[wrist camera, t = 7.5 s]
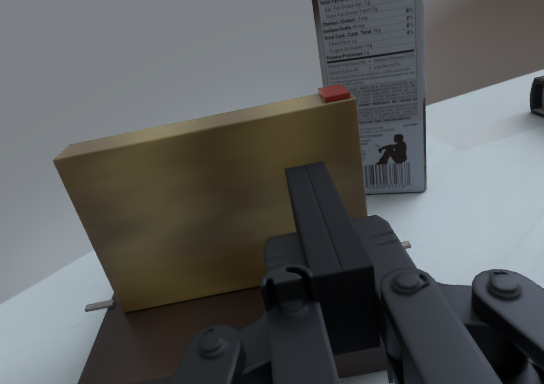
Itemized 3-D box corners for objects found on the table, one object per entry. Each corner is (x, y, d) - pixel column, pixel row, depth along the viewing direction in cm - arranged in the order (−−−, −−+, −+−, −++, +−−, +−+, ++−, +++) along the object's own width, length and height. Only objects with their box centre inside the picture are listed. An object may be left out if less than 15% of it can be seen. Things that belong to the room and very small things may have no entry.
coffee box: (344, 147, 38) (321, -57, 30) (420, 141, 36) (414, -78, 28) (333, 197, 30) (298, -60, 23) (429, 193, 28) (424, -90, 21)
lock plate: (65, 431, 17) (42, 397, 16) (125, 277, 26) (112, 249, 25) (457, 356, 17) (458, 316, 16) (380, 226, 26) (378, 196, 25)
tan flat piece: (123, 313, 20) (48, 154, 16) (131, 288, 21) (66, 139, 18) (372, 264, 19) (356, 91, 16) (362, 243, 21) (345, 81, 17)
